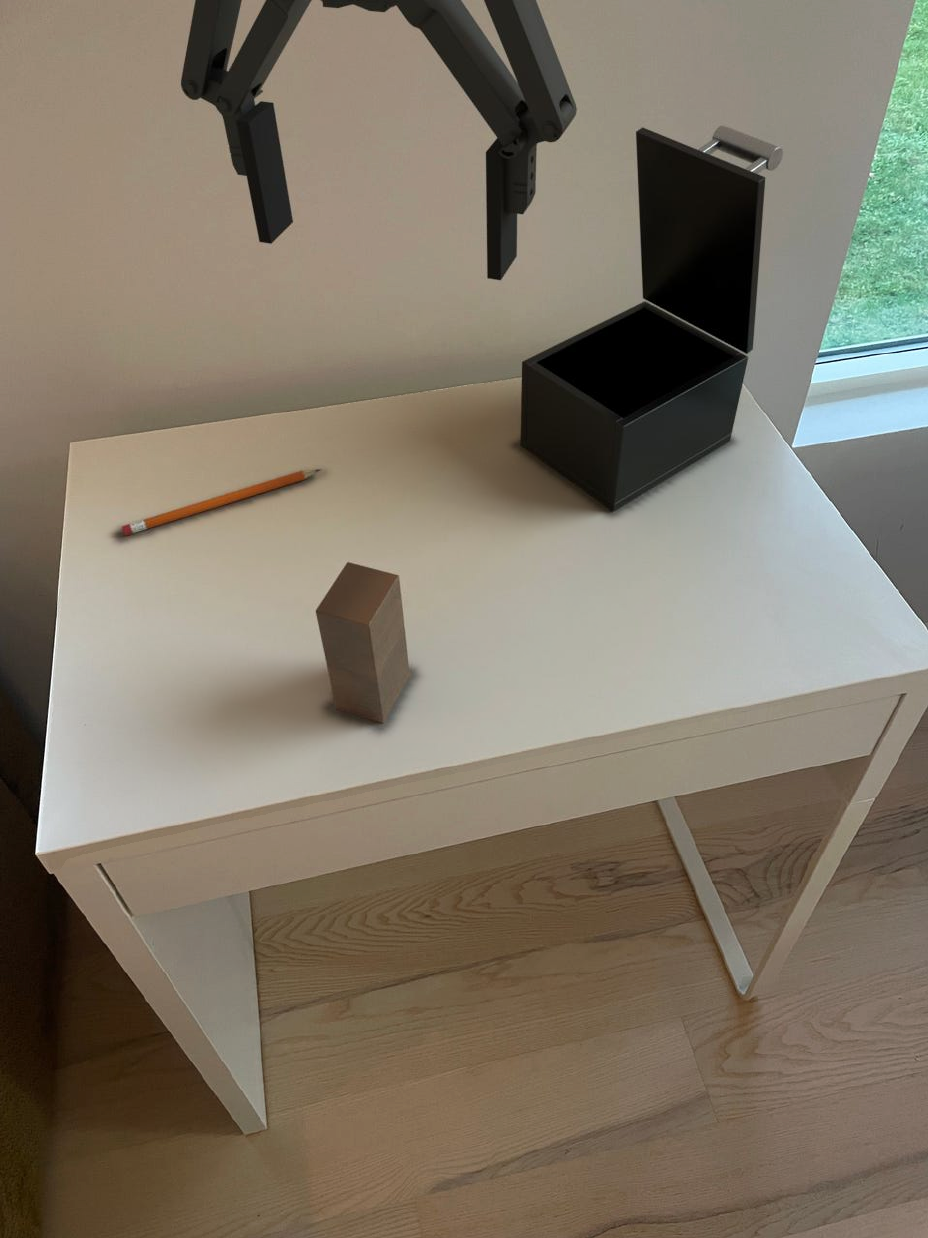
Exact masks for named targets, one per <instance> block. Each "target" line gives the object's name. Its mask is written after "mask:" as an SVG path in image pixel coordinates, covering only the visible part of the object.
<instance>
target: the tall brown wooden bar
mask: <svg viewBox="0 0 928 1238" xmlns="http://www.w3.org/2000/svg"><path fill="white" fill-rule="evenodd" d="M401 589H402V588H401V581H400V575H399V574H396V573H392V572H389V571H388V572H387V571H384V570H380V569H376V568H373V567H369V566H365V565H361V564H357V563H355V562H354V563H353V562H349V561H347V562H346V563H345V565H344V566H343V568H342V569H341V571H340V572H339V574H338V575H337V577H336V578H335V580H334V582H333V583H332V585H331V586H330V588H329V589H328V591H327V592H326V594H325V595H324V597H323V599H322V600H321V602H320V603H319V604H318V606H317V607H316V609H315V616H316V619H317V625H318V629H319V634H320V640H321V645H322V649H323V653H324V658H325V663H326V669H327V673H328V678H329V682H330V688H331V692H332V696H333V697H332V698H333V703H334V705H335V709H336V710H338V711H341V712H345V713H348V714H351V715H355V716H359V717H361V718H364V719H368V720H371V721H375V722H377V723H381V724H385V721H386V720H387V718H388V716H389V714H390V712H391V710H392V708H393V707H394V705H395V703H396V701H397V700H398V698H399V696H400V694H401V692H402V690H403V688H404V686H405V684H406V682H407V681H408V679H409V678H410V675H411V674H410V672H411V671H410V663H409V654H408V653H409V652H408V645H407V635H406V627H405V619H404V618H405V617H404V607H403V600H402V590H401Z"/></svg>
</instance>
